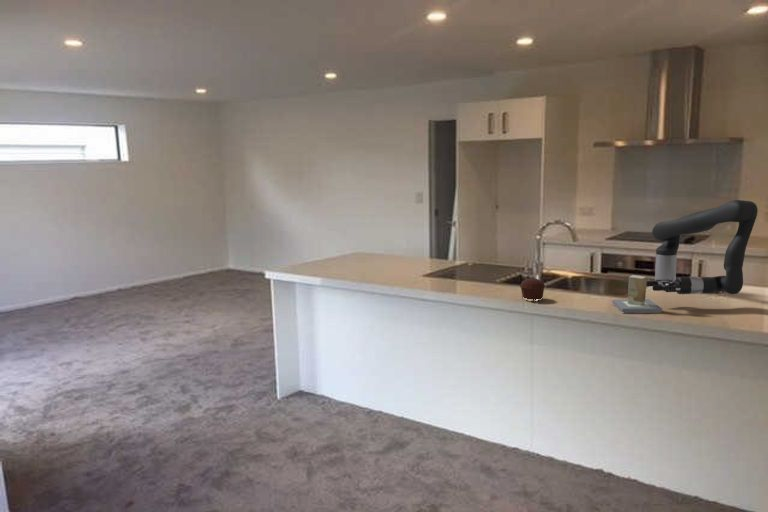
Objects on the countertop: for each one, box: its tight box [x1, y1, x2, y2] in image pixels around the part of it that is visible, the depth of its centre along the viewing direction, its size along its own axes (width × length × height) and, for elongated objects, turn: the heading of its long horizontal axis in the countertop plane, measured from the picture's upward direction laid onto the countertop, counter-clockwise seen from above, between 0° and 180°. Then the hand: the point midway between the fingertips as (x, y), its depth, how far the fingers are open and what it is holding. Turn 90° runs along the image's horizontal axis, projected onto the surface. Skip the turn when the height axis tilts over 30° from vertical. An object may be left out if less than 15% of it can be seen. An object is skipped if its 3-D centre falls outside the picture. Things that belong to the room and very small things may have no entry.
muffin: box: [519, 277, 546, 300], centre depth 276 cm, size 12×11×10 cm
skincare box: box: [627, 274, 648, 306], centre depth 253 cm, size 6×4×12 cm
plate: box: [611, 298, 663, 314], centre depth 254 cm, size 16×16×2 cm
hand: (649, 285), depth 252 cm, fingers open, 8 cm apart
